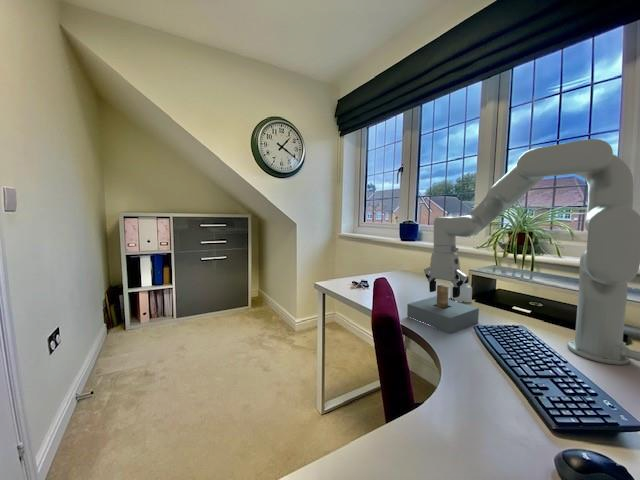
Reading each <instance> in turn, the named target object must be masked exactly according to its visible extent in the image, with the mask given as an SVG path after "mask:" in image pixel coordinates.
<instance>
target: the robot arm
mask: <svg viewBox="0 0 640 480" xmlns="http://www.w3.org/2000/svg"><path fill="white" fill-rule="evenodd" d="M613 151H614V150H613V147H612V145H610V143H608V142H607V141H605V140H604V139H603V140H602V139H599V138H588V139H587V138H586V139H581V140H576V141H571V142H564V143H560V144H559V143H558V144H553V145H547V146H543V147H542V146H540V147H535V148H531V149H529V150H527V151H525V152H523V153H522V154H521V155H520V156H519V158H517V161H516V164H515V165H514V166H513V167H512V168H511V169H510V170H508V172H506V173H505V174H504V175H503V176H502V177H501V178H499V180H497V181H496V183H494V184H493V185H492V186H491V187H490V188H489V190H488V191H487V193H486V195H485V197H484V198H483V199H482V201H481V202H480V203H478V205H477V206H476V207H475V208H473V210H472V211H470V212H469V213H468V214H467V215H462V216H437V217H435V218H434V219H433V252H432V253H431V257H430V265H429V267H427V268H424V269H423V272H424V275H425V278H426V279H427V282H428V283H429V285H428V286H429V288H428V289H429V292H430V293H433V292H437V280H442V281H443V280H444V281H447V282H451V283H452V284H453V285H454V287H453V298H456V297H459V295H460V286H462V285H463V284H464V283H465V281H466V279H467V276H468V275H466V274H465V273H464V272H462V271H461V265H460V263H461V262H460V258H459V254H458V253H457V252H459V247H457V245H456V243H457V242H456V240H457V239H456V237H459V238H469V237H472V236H474V235H475V236H476V235H478V234H479V233H480V232H482V231H483V230H484V229H485V228H486V227H487V226H488V225H490V224H491V223H492V222H493V221H494V220H496V219H497V218H498V217H499V216H500V215H501V214H503V213H504V212H505V211H507V210H509V208H511V206H513V205H514V204H515V203H517V201H519V200H520V199H521V198H522V197H524V196H525V195H526V193H528V192H529V191H530V190H532V188H534V187H536V186H537V185H538V184H539V183H541V181H543V180H544V179H545V178H547V177H558V176H566V175H575V176H580V177H582V178H583V179H584V180H585V181H586V183H587V187H588V193H587V195H588V197H587V207H586V208H587V209H586V216H585V220H584V221H585V222H584V226H585V230H586V232H587V237H586V238H587V241H586V250H584V251H583V253H582V254H581V256H580V258H579V280H578V281H579V282H578V283H579V286H578V295H577V296H578V297H577V308H576V321H575V334H574V335H575V336H574V339H572V340H569V341H568V342H567V345H566V346H567V349H569V350H570V351H571V352H572V353H574V354H575V355H578V356H580V357H582V358H585V359H588V360H591V361H595V362H598V363H603V364H608V365H609V364H610V365H618V366H619V365H626V364H629V363H630V359H632V360H634V361H637V362H640V351H638V350H635V349H629V347H627V343H626V342H625V341H624V329H625V320H626V319H625V317H626V310H627V309H626V308H627V300H628V283H629V282H630V281H632V280H633V279H635V277H636V276H637V274H638V272H639V270H640V214H639V213H638V211H636V210H635V209H634V208H633V203H634V177H633V173H632V170H631V169H630V167H629V165H628V164H627V163H626V162H625V161H624V160H622V158H620V157H618V156H617V155H615V154H614V152H613ZM460 277H461V280H460V281H459V280H458V279H460ZM436 279H437V280H436Z"/></svg>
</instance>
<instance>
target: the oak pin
mask: <svg viewBox="0 0 640 480" xmlns="http://www.w3.org/2000/svg"><path fill="white" fill-rule="evenodd" d="M436 296H437V307H439V308H442V309H446V308H448V300H449V286H448V285H445V284H444V285H443V284H438V285H437V284H436Z"/></svg>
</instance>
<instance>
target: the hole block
mask: <svg viewBox="0 0 640 480" xmlns="http://www.w3.org/2000/svg"><path fill="white" fill-rule="evenodd" d="M406 305H407V307H406V308H407V309H406V310H407V311H406V312H407V314H406V315H407V316H408V317H411V318H414V319H416V320H418V321H421V322H424V323H426V324H429V325H431V326H433V327H435V328H434V329H436V328H437V329H436V330H438V329H440V330H439V331H441V330H442V331H441V332H443V331H444V333H446V332H447V333H446V334H449V335H450V334H453V333H455V332H458V331H461V330H463V329H465V328H468V327H469V326H470V327H471V326H472V325H475V324H478V323H479V314H480V313H479V311H480V308H479V307H476V306H472V305H470V304H469V305H468V304H466V303H463V302H455V301H454V300H451V299H448V308H446V309H442V308H439V307H437V295H435V296H433V297H432V296H431V297H428V298H425V299H421V300H417V301H414V302H413V301H412V302H409V303H407V304H406ZM407 316H406V317H407ZM408 317H407V318H408ZM418 321H417V322H418ZM477 322H478V323H477ZM431 326H430V327H431ZM467 326H468V327H467ZM433 327H432V328H433ZM462 328H463V329H462ZM457 330H458V331H457ZM452 332H453V333H452Z"/></svg>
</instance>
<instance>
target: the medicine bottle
mask: <svg viewBox="0 0 640 480" xmlns="http://www.w3.org/2000/svg"><path fill="white" fill-rule="evenodd" d="M466 276H467V279H466V281H465V283H464V284H463V285H462V286H460V295H459V297H456V298H453V287H454V285H453V284H452V282H451V283H450V292H449V293H450V294H449V298H450V297H451V298H452V300H453V299H454V300H455V301H464V302H463V303H472V300H473V299H472V297H473V286H471V285H469V284H470V283H469V281H470V279H469V278H470V277H469V276H468V275H466ZM458 280H459V281H460V280H461V277H460V279H458ZM451 298H450V299H451ZM454 300H453V301H454ZM467 301H468V302H467Z"/></svg>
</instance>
